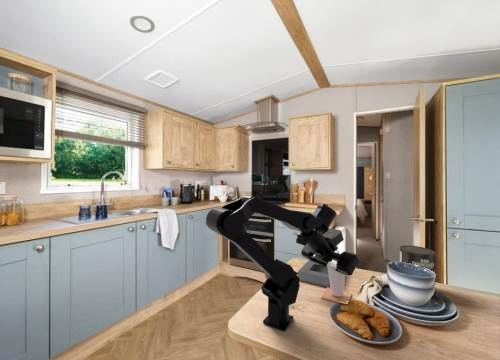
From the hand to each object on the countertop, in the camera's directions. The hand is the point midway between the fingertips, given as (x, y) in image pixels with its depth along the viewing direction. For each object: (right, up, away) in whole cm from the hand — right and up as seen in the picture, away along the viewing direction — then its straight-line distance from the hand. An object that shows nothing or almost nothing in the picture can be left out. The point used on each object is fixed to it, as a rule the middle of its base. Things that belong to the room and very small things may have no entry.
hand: (339, 270), depth 76 cm
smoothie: (-1, -7, -1) cm, 8 cm away
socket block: (-2, -8, +14) cm, 16 cm away
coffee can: (+29, -9, +5) cm, 31 cm away
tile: (-1, -8, -1) cm, 8 cm away
